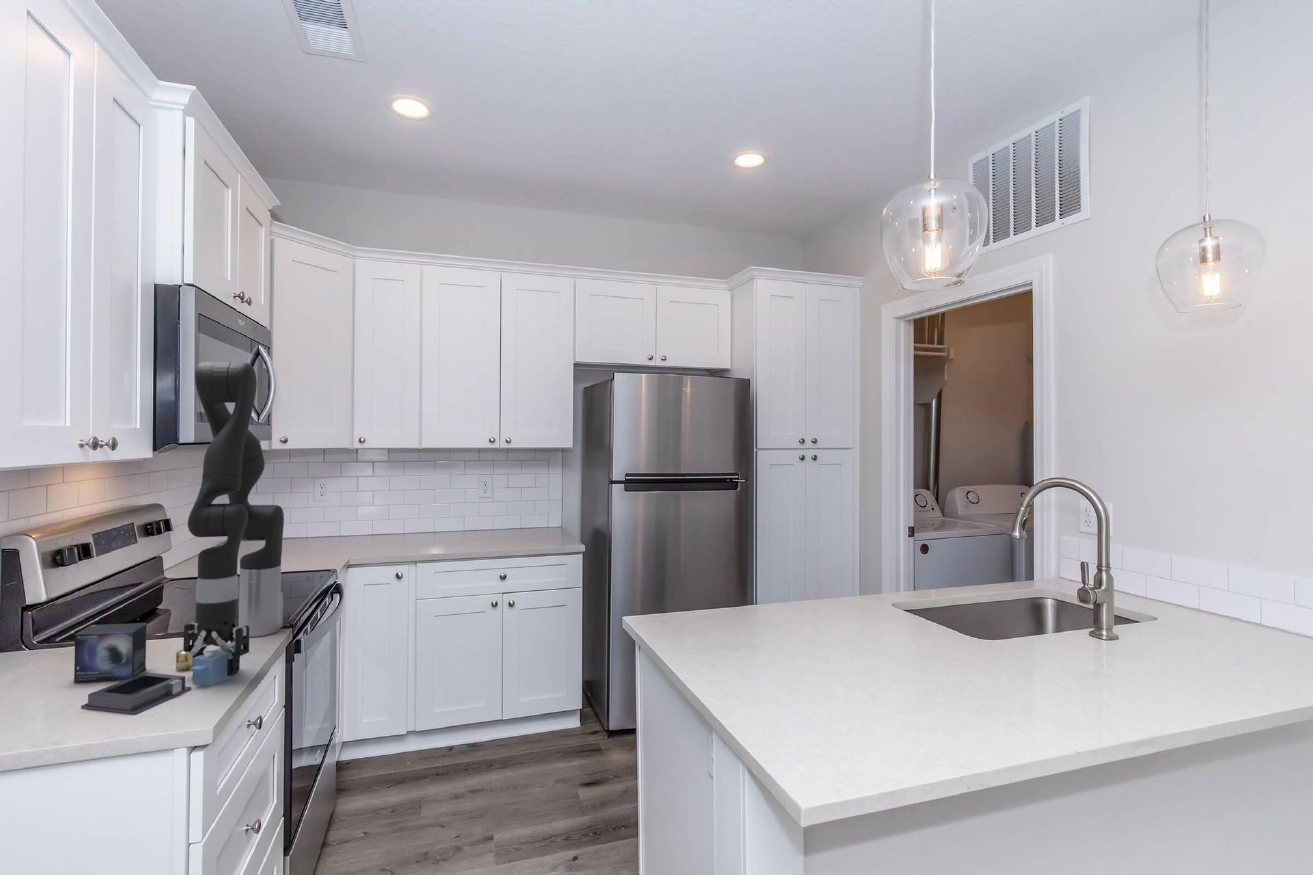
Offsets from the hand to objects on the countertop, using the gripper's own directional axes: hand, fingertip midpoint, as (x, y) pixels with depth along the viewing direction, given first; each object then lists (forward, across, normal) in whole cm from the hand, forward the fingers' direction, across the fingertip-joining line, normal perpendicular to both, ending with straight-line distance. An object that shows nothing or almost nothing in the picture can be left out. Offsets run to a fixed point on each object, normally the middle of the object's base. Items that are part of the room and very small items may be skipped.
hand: (215, 673), depth 138 cm
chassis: (+1, +6, +12) cm, 13 cm away
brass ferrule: (+1, +11, -3) cm, 11 cm away
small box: (+1, +22, +4) cm, 22 cm away
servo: (+1, 0, 0) cm, 1 cm away
